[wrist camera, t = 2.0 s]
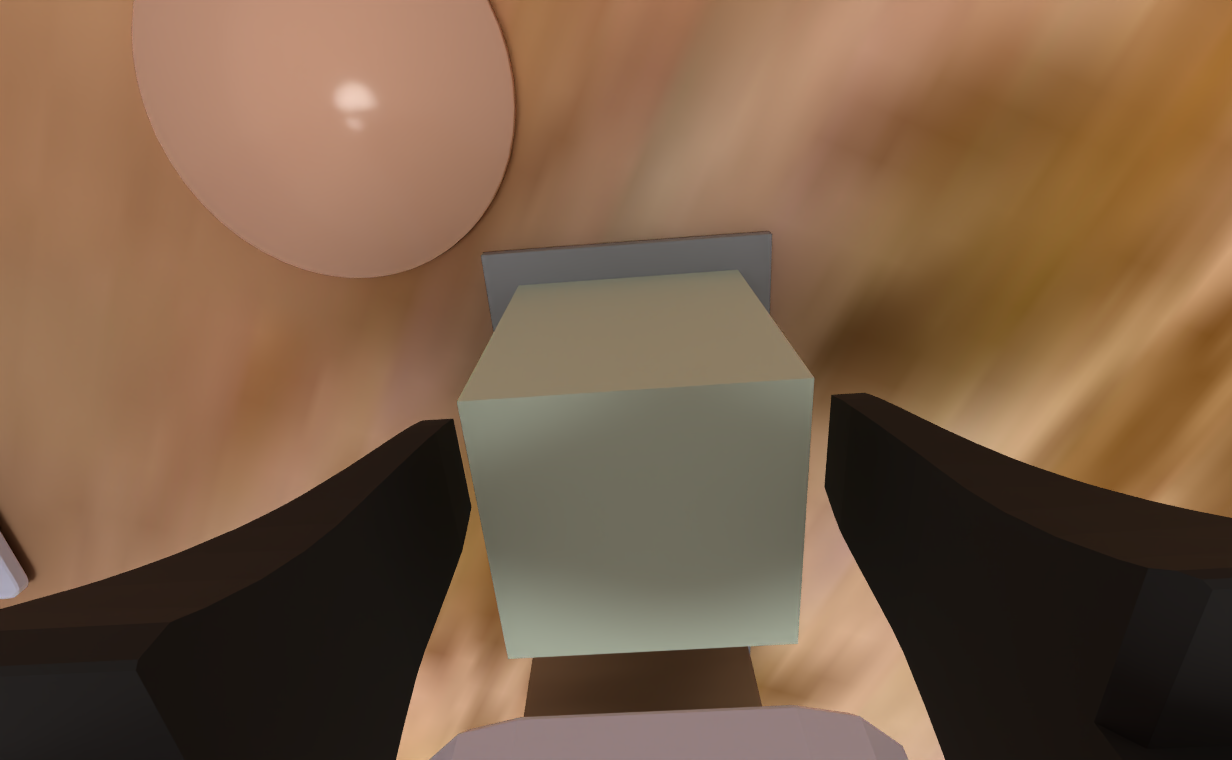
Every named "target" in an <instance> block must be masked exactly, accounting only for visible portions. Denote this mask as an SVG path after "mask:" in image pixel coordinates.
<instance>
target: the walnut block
mask: <svg viewBox="0 0 1232 760" xmlns="http://www.w3.org/2000/svg"><path fill="white" fill-rule="evenodd" d="M740 707H762V704H761V700H760V695H759V691H758V687H757V683H756V679H755V674H754V670H753V666H752V662H751V658H750V653H749V649H748V646H744V647H725V648H706V649H687V650H668V651H649V652H630V653H611V654H591V655H572V656H553V657H534V658H533V660H532V666H531V673H530V680H529V686H528V693H527V699H526V706H525V712H524V717H537V716H559V715H582V714H605V713H627V712H650V711H672V710H695V709H717V708H740Z"/></svg>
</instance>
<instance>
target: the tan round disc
mask: <svg viewBox="0 0 1232 760" xmlns="http://www.w3.org/2000/svg"><path fill="white" fill-rule="evenodd" d="M132 46H133V59H134V65H135V71H136V76H137V82H138V86H139V90H140V93H141V97H142V100H143V103H144V107H145V110H146V113H147V115H148V118H149V120H150V123H151V125H152V127H153V130H154V132H155V135H156V137H157V139H158V141H159V143H160V144H161V146H162V148H163V150H164V152H165V154H166V155H167V157H168V159H169V161H170V162H171V164H172V165H173V167H174V168H175V170H176V171H177V173H178V174H179V176H180V177H181V179H182V180H183V181H184V183H185V184H186V185H187V187H188V188H189V189H190V190H191V191H192V193H193V194H194V195H195V196H196V197H197V199H198V200H199V201H200V202H201V203H202V204H203V205H204V206H205V207H206V208H207V209H208V210H209V211H210V212H211V213H212V214H213V215H214V216H215V217H216V218H217V219H218V220H219V221H220V222H221V223H223V224H224V225H225V226H226V227H228V228H229V229H230V230H231V231H233V232H234V233H235V234H236V235H238V236H239V237H240V238H242V239H243V240H245V241H246V242H248V243H249V244H251V245H253V246H254V247H256V248H257V249H259V250H260V251H262V252H264V253H266V254H268V255H270V256H272V257H274V258H276V259H278V260H280V261H282V262H285V263H287V264H290V265H293V266H295V267H298V268H301V269H304V270H307V271H311V272H315V273H319V274H324V275H328V276H337V277H345V278H372V277H380V276H387V275H393V274H396V273H400V272H403V271H407V270H410V269H413V268H415V267H418V266H420V265H422V264H424V263H427V262H429V261H431V260H433V259H434V258H436V257H437V256H439V255H441V254H442V253H444V252H445V251H447V250H448V249H450V248H451V247H452V246H453V245H454V244H456V243H457V242H458V241H459V240H460V239H461V238H463V237H464V236H465V235H466V234H467V233H468V232H469V231H470V230H471V229H472V228H473V227H474V225H475V224H476V223H477V222H478V221H479V220H480V219H481V217H482V216H483V215H484V213H485V212H486V210H487V209H488V207H489V205H490V204H491V202H492V201H493V199H494V197H495V195H496V193H497V191H498V189H499V187H500V185H501V183H502V180H503V178H504V175H505V172H506V169H507V166H508V162H509V159H510V156H511V150H512V145H513V139H514V134H515V117H516V100H515V85H514V77H513V72H512V67H511V61H510V56H509V52H508V49H507V46H506V43H505V39H504V36H503V33H502V30H501V27H500V25H499V22H498V20H497V18H496V15H495V13H494V11H493V9H492V6H491V4H490V2H489V0H134V3H133V17H132Z"/></svg>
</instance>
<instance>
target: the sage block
mask: <svg viewBox="0 0 1232 760" xmlns="http://www.w3.org/2000/svg"><path fill="white" fill-rule="evenodd" d="M813 391H814V377H813V375H812V374H811V373H810V371H809V370H808V368H807V367H806V365H805V364H804V363H803V361H802V360H801V358H800V357H799V356H798V354H797V353H796V351H795V350H794V348H793V347H792V346H791V344H790V343H789V341H788V340H787V339H786V337H785V336H784V334H783V333H782V331H781V330H780V329H779V327H778V326H777V324H776V323H775V322H774V320H773V319H772V317H771V316H770V314H769V313H768V312H767V310H766V309H765V307H764V306H763V305H762V303H761V302H760V300H759V299H758V297H757V296H756V295H755V293H754V292H753V290H752V289H751V288H750V286H749V285H748V283H747V282H746V280H745V279H744V278H743V276H742V275H741V273H740V272H739V271H738V270H726V271H712V272H698V273H685V274H671V275H657V276H643V277H629V278H615V279H602V280H588V281H574V282H560V283H546V284H532V285H519V286H518V288H517V290H516V291H515V293H514V295H513V297H512V299H511V301H510V303H509V305H508V306H507V308H506V310H505V312H504V314H503V316H502V318H501V320H500V321H499V323H498V325H497V327H496V329H495V331H494V333H493V335H492V336H491V338H490V340H489V342H488V344H487V346H486V348H485V350H484V351H483V353H482V355H481V357H480V359H479V361H478V363H477V365H476V366H475V368H474V370H473V372H472V374H471V376H470V378H469V380H468V382H467V383H466V385H465V387H464V389H463V391H462V393H461V395H460V397H459V398H458V400H457V405H458V410H459V415H460V420H461V425H462V430H463V435H464V440H465V445H466V450H467V455H468V460H469V465H470V470H471V475H472V480H473V485H474V490H475V495H476V500H477V505H478V510H479V515H480V520H481V525H482V530H483V535H484V540H485V545H486V550H487V555H488V560H489V565H490V570H491V575H492V580H493V585H494V590H495V595H496V600H497V605H498V610H499V615H500V620H501V625H502V630H503V635H504V640H505V645H506V650H507V655H508V659H515V658H534V657H553V656H572V655H591V654H611V653H630V652H649V651H668V650H687V649H706V648H725V647H744V646H763V645H782V644H798V632H799V616H800V600H801V584H802V568H803V552H804V536H805V520H806V504H807V488H808V472H809V455H810V439H811V423H812V407H813Z"/></svg>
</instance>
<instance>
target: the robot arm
mask: <svg viewBox="0 0 1232 760" xmlns="http://www.w3.org/2000/svg"><path fill="white" fill-rule="evenodd" d="M825 490H826V493H827V496H828V498H829V501H830V504H831V507H832V510H833V513H834V516H835V518H836V521H837V524H838V527H839V529H840V531H841V533H842V535H843V537H844V539H845V541H846V543H847V545H848V547H849V549H850V551H851V553H852V555H853V557H854V558H855V560H856V562H857V564H858V566H859V568H860V570H861V572H862V573H863V575H864V577H865V579H866V581H867V583H868V585H869V587H870V588H871V590H872V592H873V594H874V596H875V598H876V600H877V601H878V603H879V605H880V607H881V609H882V611H883V613H884V614H885V616H886V618H887V620H888V622H889V624H890V626H891V627H892V629H893V632H894V634H895V636H896V638H897V640H898V642H899V644H900V646H901V648H902V650H903V652H904V655H905V657H906V660H907V662H908V665H909V667H910V670H911V672H912V675H913V677H914V680H915V682H916V685H917V687H918V690H919V692H920V695H921V697H922V700H923V702H924V704H925V707H926V710H927V712H928V715H929V718H930V720H931V723H932V726H933V728H934V731H935V734H936V736H937V739H938V742H939V744H940V747H941V750H942V752H943V755H944V758H945V760H1232V518H1229V517H1224V516H1219V515H1214V514H1209V513H1204V512H1198V511H1193V510H1189V509H1184V508H1180V507H1175V506H1171V505H1166V504H1162V503H1158V502H1153V501H1149V500H1145V499H1142V498H1138V497H1134V496H1130V495H1126V494H1123V493H1119V492H1115V491H1111V490H1107V489H1104V488H1100V487H1097V486H1093V485H1090V484H1086V483H1083V482H1080V481H1076V480H1073V479H1070V478H1067V477H1064V476H1061V475H1058V474H1055V473H1052V472H1049V471H1046V470H1043V469H1040V468H1037V467H1034V466H1032V465H1029V464H1026V463H1023V462H1021V461H1018V460H1015V459H1013V458H1010V457H1008V456H1005V455H1003V454H1000V453H998V452H996V451H993V450H991V449H988V448H986V447H984V446H981V445H979V444H976V443H974V442H972V441H970V440H967V439H965V438H963V437H961V436H958V435H956V434H954V433H952V432H950V431H948V430H945V429H943V428H941V427H939V426H937V425H935V424H933V423H931V422H929V421H927V420H924V419H922V418H920V417H918V416H916V415H914V414H912V413H910V412H908V411H906V410H904V409H902V408H900V407H898V406H895V405H893V404H891V403H889V402H887V401H885V400H882V399H880V398H878V397H875V396H873V395H870V394H867V393H854V394H838V395H831V408H830V421H829V434H828V448H827V461H826V474H825ZM470 511H471V503H470V498H469V493H468V488H467V483H466V478H465V474H464V469H463V464H462V459H461V454H460V449H459V444H458V440H457V435H456V430H455V425H454V420H453V419H441V420H425V421H420V422H418V423H416V424H414V425H412V426H411V427H409V428H407V429H406V430H404V431H402V432H401V433H399V434H398V435H396V436H395V437H393V438H392V439H390V440H388V441H387V442H385V443H384V444H382V445H381V446H379V447H378V448H376V449H375V450H373V451H372V452H370V453H369V454H367V455H366V456H364V457H363V458H361V459H360V460H358V461H357V462H355V463H354V464H352V465H351V466H349V467H348V468H346V469H344V470H343V471H341V472H339V473H338V474H336V475H334V476H333V477H331V478H330V479H328V480H326V481H325V482H323V483H321V484H320V485H318V486H316V487H315V488H313V489H311V490H310V491H308V492H307V493H305V494H303V495H301V496H300V497H298V498H296V499H294V500H293V501H291V502H289V503H287V504H285V505H283V506H281V507H279V508H278V509H276V510H274V511H272V512H270V513H268V514H266V515H264V516H262V517H260V518H258V519H256V520H254V521H252V522H250V523H248V524H245V525H243V526H241V527H239V528H237V529H235V530H232V531H230V532H227V533H225V534H223V535H220V536H218V537H216V538H213V539H211V540H208V541H206V542H204V543H201V544H199V545H197V546H194V547H192V548H189V549H187V550H185V551H182V552H180V553H177V554H175V555H172V556H170V557H167V558H164V559H161V560H159V561H156V562H153V563H150V564H148V565H145V566H142V567H139V568H137V569H134V570H131V571H128V572H125V573H122V574H119V575H116V576H113V577H110V578H107V579H104V580H101V581H97V582H94V583H91V584H88V585H84V586H81V587H78V588H75V589H71V590H67V591H64V592H60V593H57V594H53V595H50V596H46V597H42V598H39V599H35V600H32V601H28V602H25V603H21V604H17V605H14V606H10V607H7V608H3V609H0V760H396V757H397V753H398V748H399V744H400V740H401V735H402V731H403V727H404V723H405V719H406V715H407V711H408V708H409V704H410V700H411V696H412V692H413V688H414V684H415V680H416V677H417V673H418V670H419V667H420V664H421V661H422V658H423V655H424V652H425V649H426V646H427V644H428V641H429V639H430V636H431V633H432V631H433V628H434V625H435V623H436V620H437V617H438V615H439V612H440V609H441V607H442V604H443V601H444V599H445V596H446V594H447V591H448V588H449V586H450V583H451V580H452V577H453V575H454V572H455V569H456V567H457V564H458V561H459V558H460V555H461V553H462V549H463V545H464V540H465V536H466V532H467V527H468V522H469V517H470ZM28 582H29V581H28V578H27V575H26V574H25V572H24V570H23V569H22V567H21V565H20V564H19V562H18V560H17V558H16V557H15V555H14V553H13V552H12V550H11V548H10V547H9V545H8V543H7V542H6V540H5V538H4V537H3V535H2V533H1V532H0V599H9V598H13V597H16V596H17V595H18V594H19V593H20V592H22V591H23V590H24V589H25V588H26V587H28ZM430 760H908V758H907V755H906V753H905V751H904V749H903V746H902V745H900V744H899V743H897V742H896V741H895V740H893V739H892V738H890V737H889V736H887V735H886V734H884V733H883V732H882V731H880V730H879V729H877V728H876V727H874V726H873V725H872V724H870V723H869V722H867V721H866V720H864V719H863V718H861V717H860V716H856V715H853V714H850V713H845V712H838V711H831V710H824V709H816V708H809V707H802V706H795V705H785V706H763V707H740V708H717V709H695V710H672V711H650V712H627V713H605V714H582V715H559V716H537V717H520V718H516V719H512V720H507V721H503V722H499V723H495V724H491V725H486V726H482V727H478V728H474V729H470V730H467V731H465V732H462V733H460V734H458V735H457V736H456V737H454V738H453V739H452V740H451V741H450V742H449V743H448V744H446V745H445V746H444V747H443V748H442V749H441V750H440V751H439V752H437V753H436V754H435V755H434V756H433V757H432V758H431V759H430Z"/></svg>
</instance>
